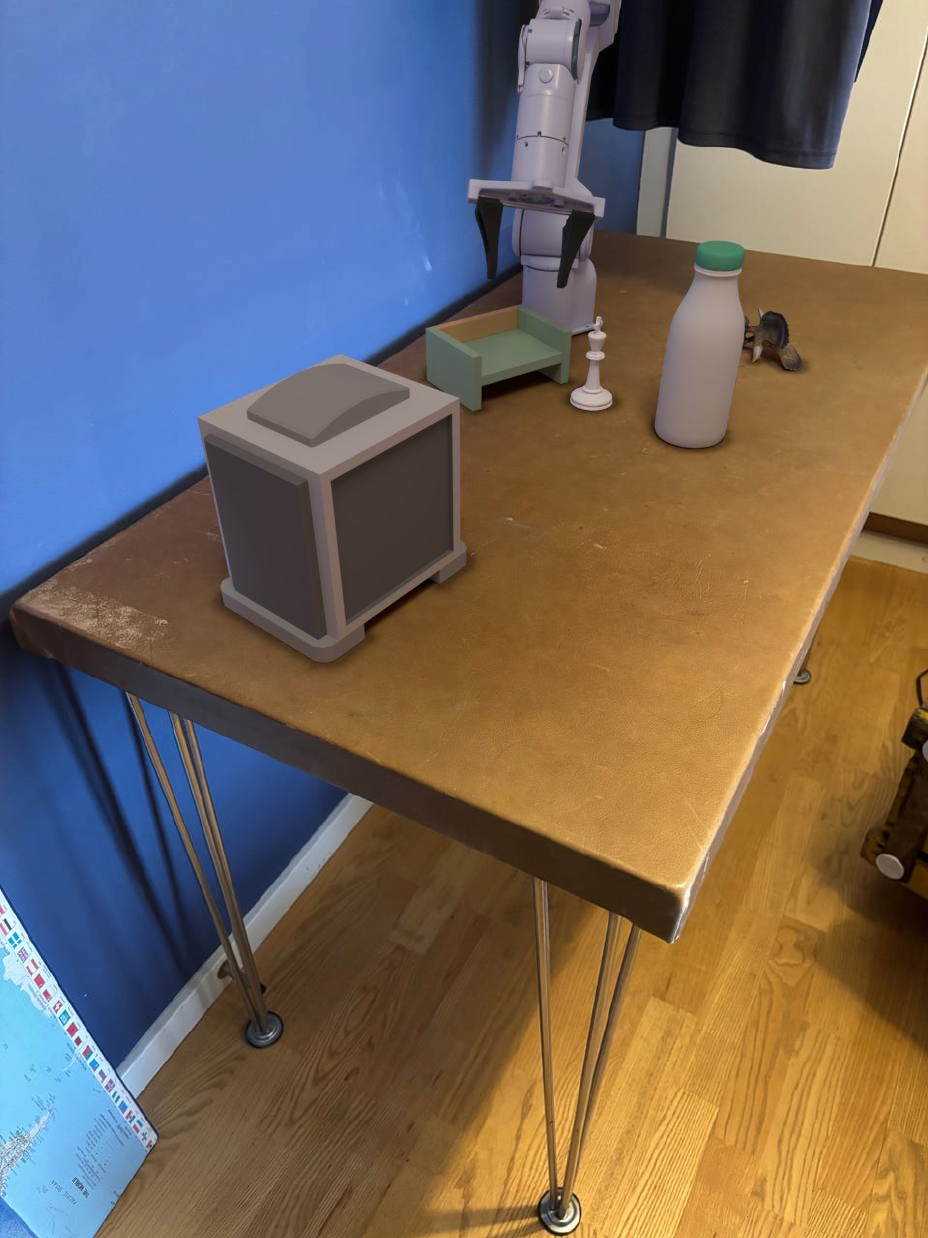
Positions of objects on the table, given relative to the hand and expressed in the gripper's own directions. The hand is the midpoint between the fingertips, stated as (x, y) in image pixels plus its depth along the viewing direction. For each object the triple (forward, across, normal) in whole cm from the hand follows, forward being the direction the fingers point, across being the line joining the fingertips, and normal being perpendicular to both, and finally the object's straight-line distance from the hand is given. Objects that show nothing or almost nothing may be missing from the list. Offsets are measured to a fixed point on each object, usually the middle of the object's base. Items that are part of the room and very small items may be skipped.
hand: (526, 281), depth 98 cm
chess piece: (+11, +10, +6) cm, 16 cm away
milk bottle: (+14, +20, -2) cm, 24 cm away
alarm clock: (+31, -16, -21) cm, 41 cm away
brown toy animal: (+3, +34, +14) cm, 36 cm away
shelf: (+10, 0, +12) cm, 15 cm away
